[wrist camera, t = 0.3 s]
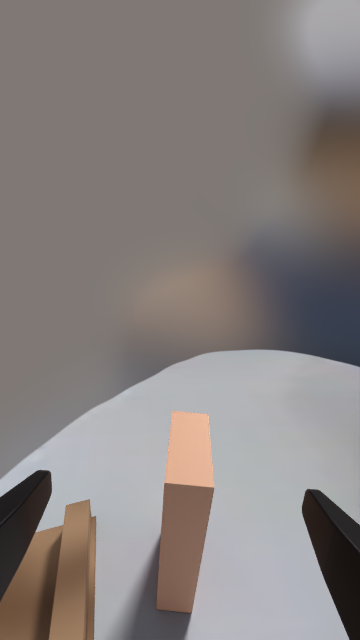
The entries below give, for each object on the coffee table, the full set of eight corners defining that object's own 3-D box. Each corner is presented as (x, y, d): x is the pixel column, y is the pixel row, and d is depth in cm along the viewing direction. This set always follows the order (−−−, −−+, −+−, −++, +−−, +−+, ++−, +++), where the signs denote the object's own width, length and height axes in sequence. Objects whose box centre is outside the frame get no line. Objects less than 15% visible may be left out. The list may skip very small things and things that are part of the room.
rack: (91, 739, 12) (87, 719, 11) (-114, 849, 10) (-147, 839, 9) (96, 521, 21) (94, 498, 20) (-12, 552, 19) (-21, 527, 17)
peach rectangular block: (191, 613, 16) (214, 487, 12) (155, 609, 16) (164, 482, 12) (191, 528, 21) (208, 414, 16) (164, 525, 21) (172, 410, 16)
